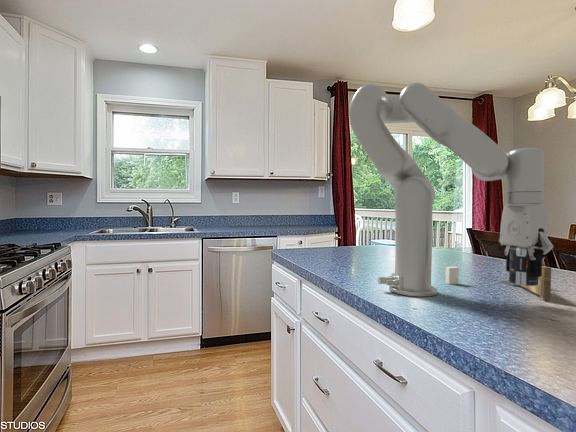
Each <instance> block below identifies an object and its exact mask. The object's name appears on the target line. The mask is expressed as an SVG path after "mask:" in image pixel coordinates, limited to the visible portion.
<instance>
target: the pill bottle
mask: <svg viewBox="0 0 576 432" xmlns="http://www.w3.org/2000/svg"><path fill="white" fill-rule="evenodd" d="M533 246H534V245H533ZM534 252H535V253H536V252H537V251H536V250H534ZM528 260H531V259H530V257H529V253H528V250H527V248H523V247H516V246H512V247H511V248H510V262H509V272H508V280H509V282H510V283H512V284H516V285H522V286H521V287H523V286H537V285H538V277H528V275H527V269H528Z"/></svg>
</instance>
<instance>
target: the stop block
mask: <svg viewBox="0 0 576 432" xmlns="http://www.w3.org/2000/svg"><path fill="white" fill-rule="evenodd" d="M459 273H460V269H459V267H457V266H445V282H444V283H445V284H448V285H459V275H460V274H459Z"/></svg>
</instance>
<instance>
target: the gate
mask: <svg viewBox="0 0 576 432" xmlns="http://www.w3.org/2000/svg"><path fill="white" fill-rule="evenodd" d="M551 286H552V267H550V266H542V276H541V277H538V285H537V286H522V285H521V286H520V287H522V288H525V289H527V290H529V291H531V292H533V293H534V294H536V295H538V296H540V299H542V300H547V301H548V300H549V301H550V300H551V293H552V292H551V291H552V287H551Z"/></svg>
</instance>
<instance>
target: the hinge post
mask: <svg viewBox="0 0 576 432" xmlns="http://www.w3.org/2000/svg"><path fill="white" fill-rule="evenodd" d="M500 283H501V284H504V285H508V286H511V287H522V286H521V285H516V284H512V283H510V282H509V279H508V280H500Z"/></svg>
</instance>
